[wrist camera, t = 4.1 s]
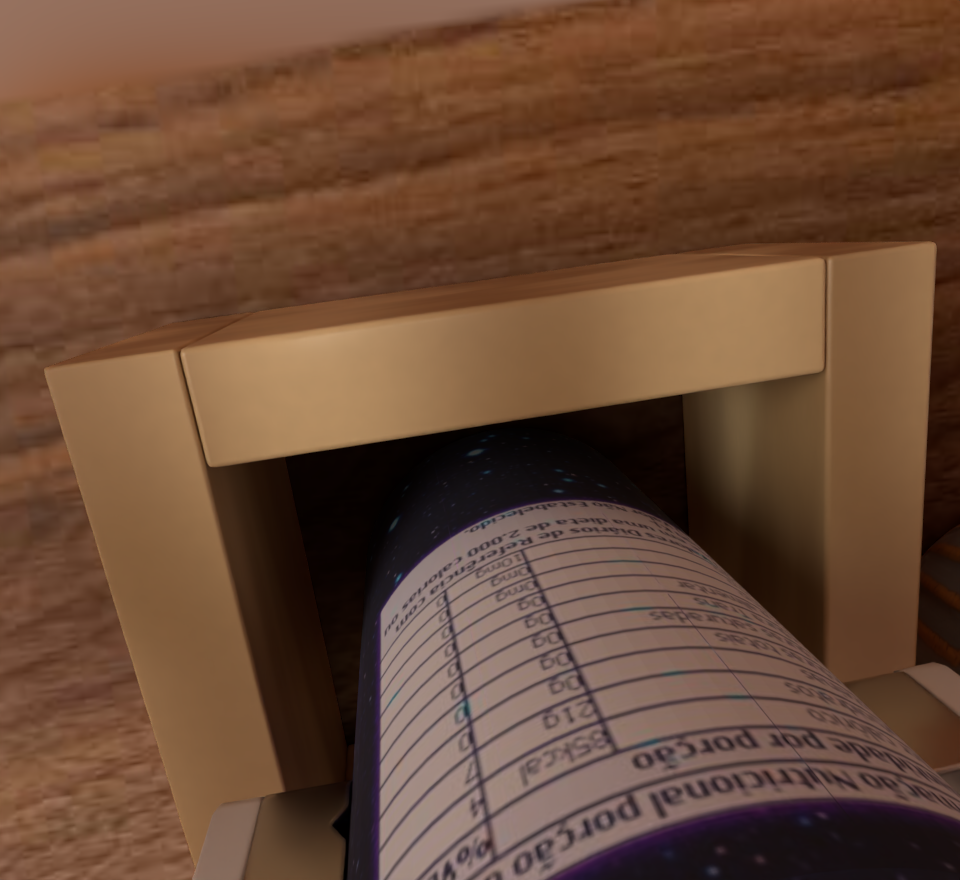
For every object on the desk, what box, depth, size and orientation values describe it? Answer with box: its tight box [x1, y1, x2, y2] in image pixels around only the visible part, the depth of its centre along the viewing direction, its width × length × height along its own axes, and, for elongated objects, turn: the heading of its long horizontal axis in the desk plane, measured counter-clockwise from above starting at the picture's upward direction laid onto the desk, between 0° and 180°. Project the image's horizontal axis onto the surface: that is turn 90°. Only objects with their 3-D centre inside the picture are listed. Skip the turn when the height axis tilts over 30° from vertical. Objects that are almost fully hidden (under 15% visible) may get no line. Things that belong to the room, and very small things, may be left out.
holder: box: [44, 241, 937, 869], centre depth 12 cm, size 11×11×5 cm
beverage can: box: [346, 428, 960, 880], centre depth 9 cm, size 6×6×12 cm
